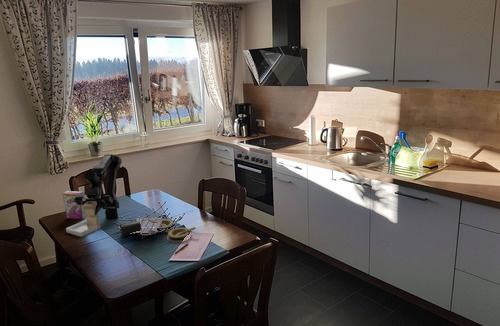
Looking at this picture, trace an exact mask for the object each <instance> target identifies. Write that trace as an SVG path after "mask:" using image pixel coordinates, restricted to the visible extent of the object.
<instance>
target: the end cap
mask: <svg viewBox="0 0 500 326" xmlns="http://www.w3.org/2000/svg"><path fill="white" fill-rule="evenodd" d="M119 228H120V233H121V236H122V238H126V237H129V235H130V233H132V232H136V231H140V230H141V231H142V225H141V222H140V221H138V220H131V221H130V223H126V222H123V223H120V224H119ZM130 236H131V235H130Z"/></svg>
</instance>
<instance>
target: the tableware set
mask: <svg viewBox="0 0 500 326" xmlns="http://www.w3.org/2000/svg"><path fill="white" fill-rule="evenodd" d="M161 219H162V224H161V226H162V227H160V226H159V229H167V228H169V227H170V226H172V225H173V221H174V220H173V219H169V218H168V219H167V218H161ZM172 220H173V221H172ZM148 221H149V222H151V223H152V224H153V223H158V222H156V221H157V220H153V219H151V218H148V219H147V222H148ZM175 226H176V225H175ZM175 226H174V227H175ZM194 230H196V226H194V227H193V226H192V227H191V228H187V227H175V229H173V228H172V229H170V230H167V231H165V232H166V233H167V236H166V240H167V241H168V242H171V243H174V244H176V243H177V242H180V243H183V242H182V241H183V240H184V238H185V237H186V236H187V235H189V234H190V233H191V231H194Z"/></svg>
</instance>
